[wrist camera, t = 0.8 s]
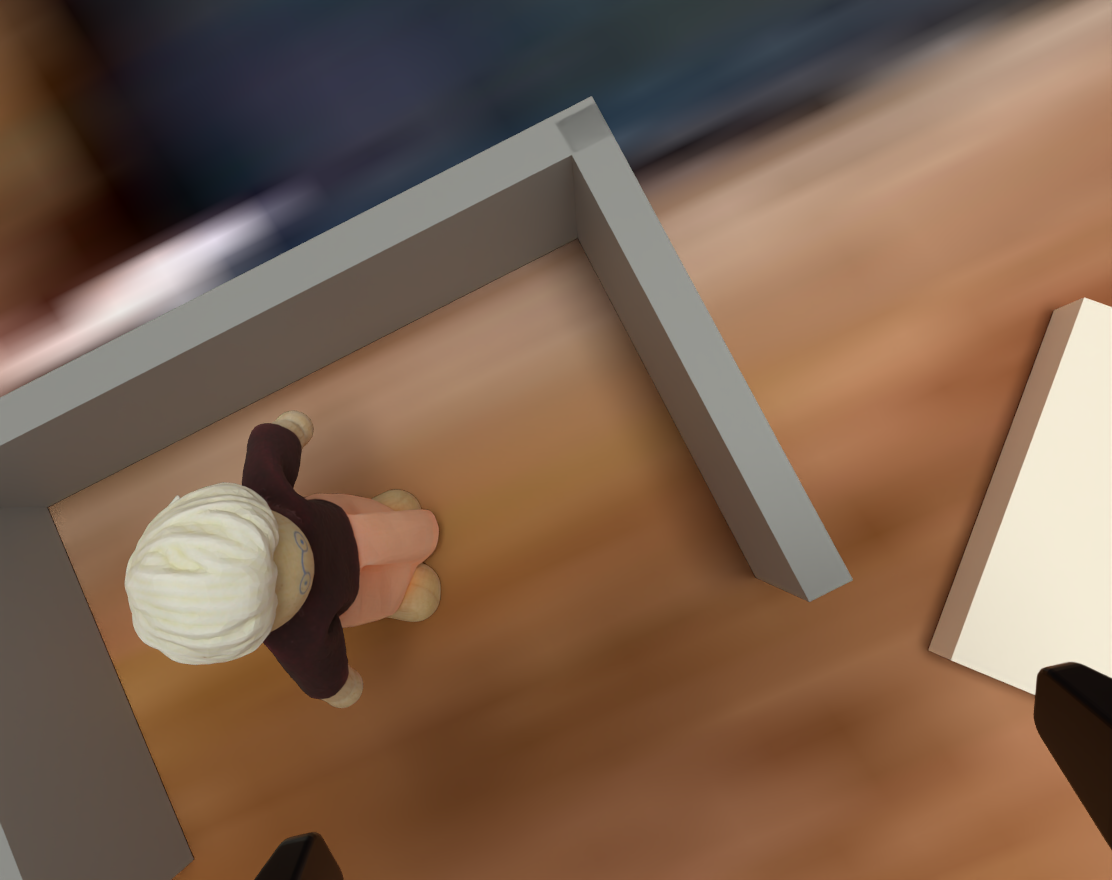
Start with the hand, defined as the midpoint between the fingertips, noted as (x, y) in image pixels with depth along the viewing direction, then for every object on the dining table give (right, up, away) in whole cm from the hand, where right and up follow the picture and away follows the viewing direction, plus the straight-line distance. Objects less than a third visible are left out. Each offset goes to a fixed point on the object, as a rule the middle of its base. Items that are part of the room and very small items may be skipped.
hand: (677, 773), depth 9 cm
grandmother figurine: (-7, +1, +16) cm, 17 cm away
